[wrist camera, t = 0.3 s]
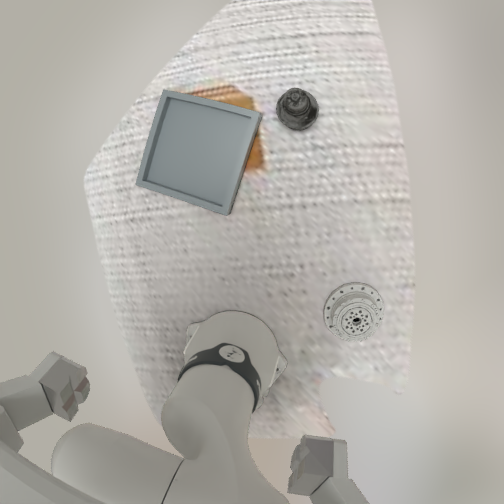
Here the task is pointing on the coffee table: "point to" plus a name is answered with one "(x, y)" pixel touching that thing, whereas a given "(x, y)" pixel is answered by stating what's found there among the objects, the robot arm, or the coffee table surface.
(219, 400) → the robot arm
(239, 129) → the tray
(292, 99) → the dark stone stupa
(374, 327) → the mechanical component
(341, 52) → the coffee table surface
